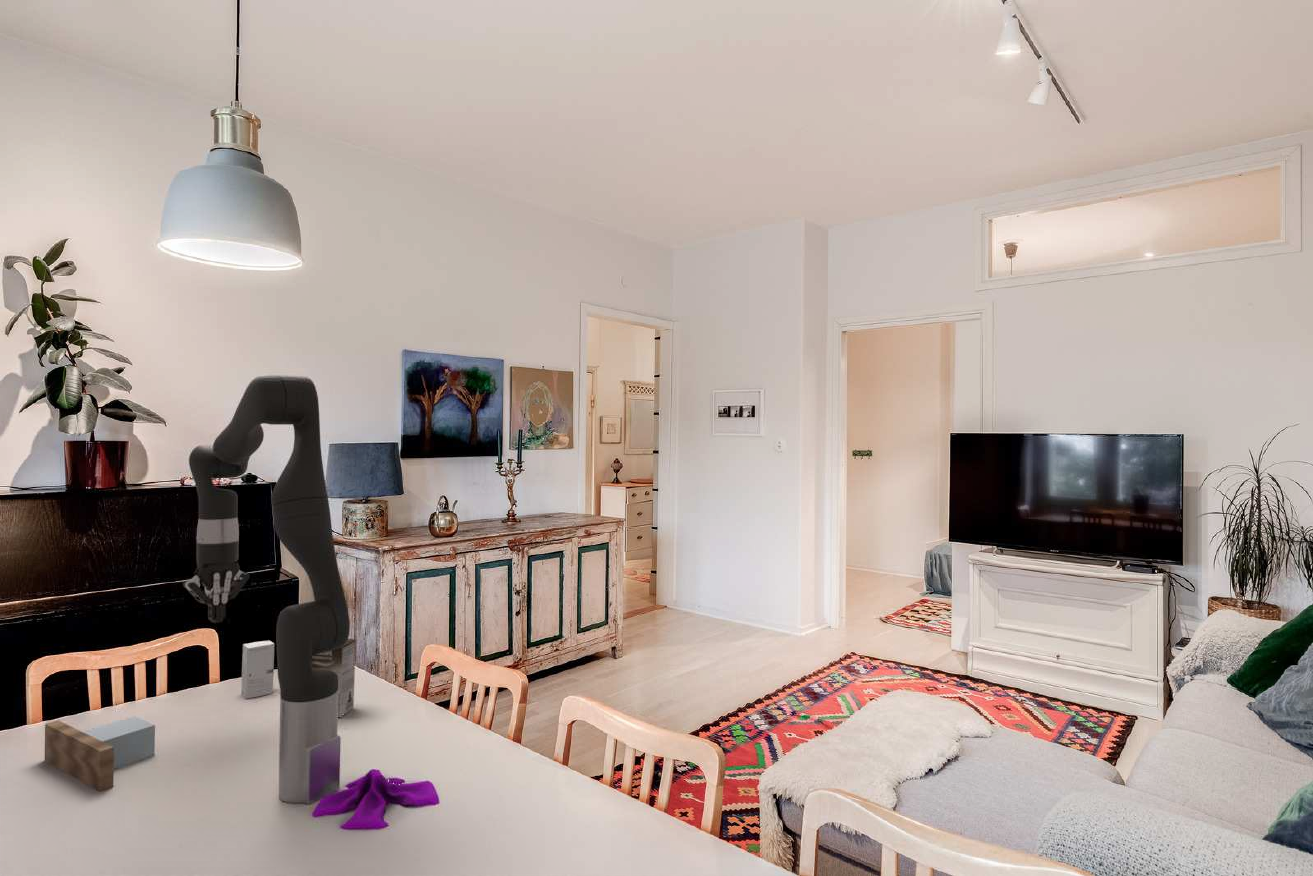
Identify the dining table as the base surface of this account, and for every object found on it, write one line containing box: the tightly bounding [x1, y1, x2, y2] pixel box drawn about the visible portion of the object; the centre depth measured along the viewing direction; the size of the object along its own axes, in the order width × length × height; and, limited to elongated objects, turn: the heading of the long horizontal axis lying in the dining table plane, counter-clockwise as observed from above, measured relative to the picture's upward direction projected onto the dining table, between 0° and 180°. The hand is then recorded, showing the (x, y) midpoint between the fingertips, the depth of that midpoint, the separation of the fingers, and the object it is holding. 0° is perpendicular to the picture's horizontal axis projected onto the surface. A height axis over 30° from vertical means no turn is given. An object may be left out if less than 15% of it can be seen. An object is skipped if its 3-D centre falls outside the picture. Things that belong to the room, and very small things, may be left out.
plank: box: [44, 719, 115, 792], centre depth 129 cm, size 22×2×7 cm, turn 60°
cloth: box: [311, 768, 440, 831], centre depth 122 cm, size 22×19×6 cm
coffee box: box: [311, 638, 356, 718], centre depth 159 cm, size 9×6×16 cm
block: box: [82, 715, 156, 770], centre depth 134 cm, size 8×10×6 cm
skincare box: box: [240, 639, 275, 700], centre depth 169 cm, size 6×4×12 cm
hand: (216, 621), depth 148 cm, fingers closed
